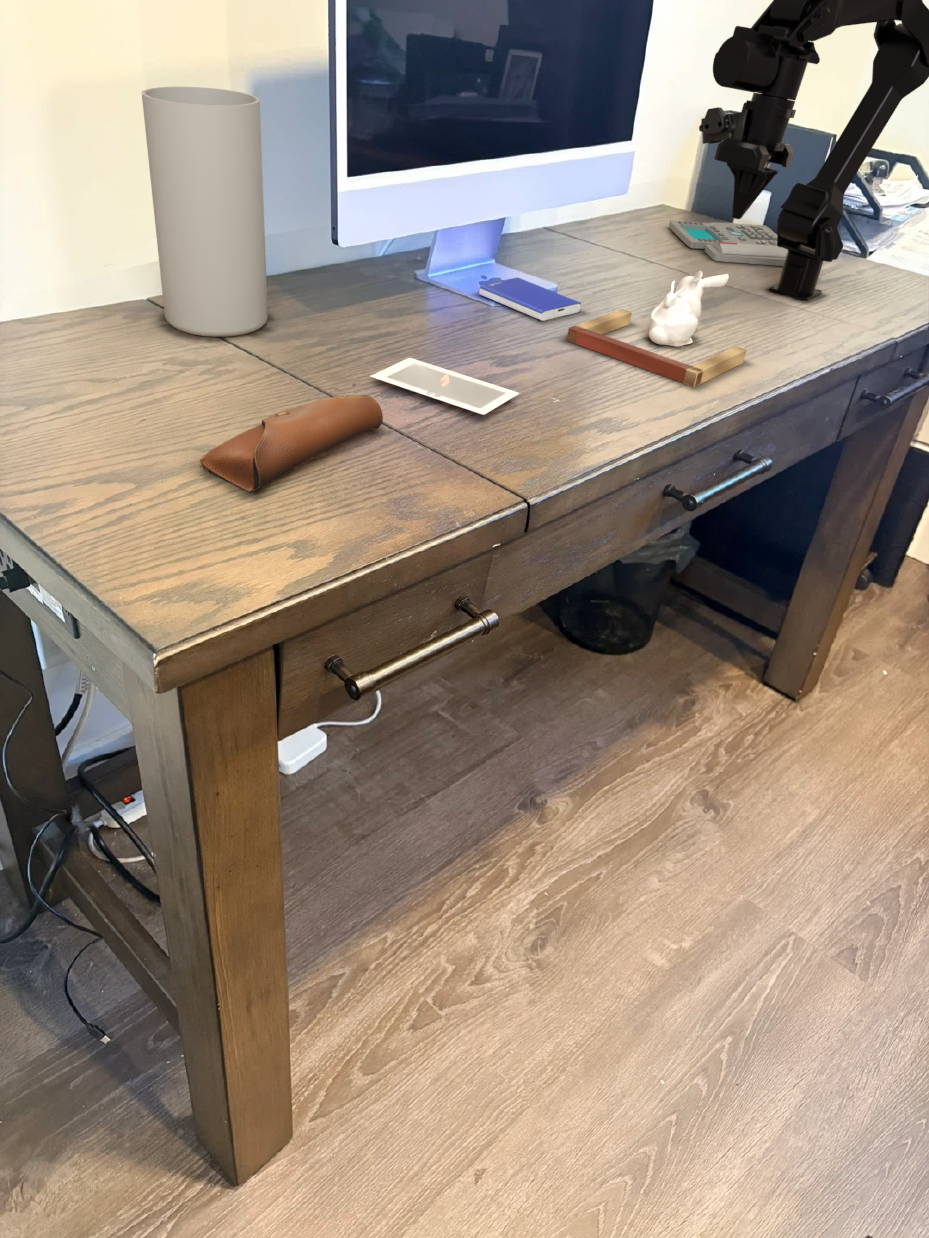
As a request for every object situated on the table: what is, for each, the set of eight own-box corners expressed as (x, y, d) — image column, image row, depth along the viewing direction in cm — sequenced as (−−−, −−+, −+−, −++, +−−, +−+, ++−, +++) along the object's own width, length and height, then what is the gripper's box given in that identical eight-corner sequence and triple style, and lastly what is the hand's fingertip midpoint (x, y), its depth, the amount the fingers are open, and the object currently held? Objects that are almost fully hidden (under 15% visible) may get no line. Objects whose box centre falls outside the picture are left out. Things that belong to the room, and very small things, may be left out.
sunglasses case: (319, 404, 98) (345, 360, 93) (364, 452, 98) (392, 411, 93) (192, 462, 86) (214, 415, 81) (242, 518, 85) (268, 474, 81)
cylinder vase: (288, 327, 117) (282, 103, 103) (201, 346, 110) (182, 108, 95) (231, 299, 124) (218, 85, 109) (146, 315, 116) (119, 88, 102)
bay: (620, 321, 130) (622, 308, 129) (743, 363, 121) (746, 349, 120) (566, 341, 122) (568, 327, 121) (694, 387, 113) (697, 373, 112)
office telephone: (816, 253, 162) (706, 246, 159) (811, 269, 163) (703, 262, 160) (767, 218, 180) (668, 211, 177) (763, 232, 182) (665, 225, 179)
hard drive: (479, 284, 133) (542, 310, 127) (519, 276, 138) (581, 301, 131) (478, 295, 134) (540, 322, 128) (518, 287, 139) (579, 312, 132)
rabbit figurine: (678, 323, 132) (694, 253, 126) (725, 339, 128) (744, 267, 123) (632, 341, 124) (647, 267, 119) (681, 358, 121) (699, 282, 115)
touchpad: (409, 366, 110) (409, 348, 109) (518, 402, 105) (520, 384, 103) (369, 385, 105) (369, 367, 103) (482, 424, 99) (484, 405, 98)
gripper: (737, 87, 136) (704, 201, 144) (697, 81, 122) (662, 208, 130) (811, 103, 132) (773, 219, 140) (778, 99, 118) (738, 229, 126)
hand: (736, 218), depth 134 cm, fingers closed
